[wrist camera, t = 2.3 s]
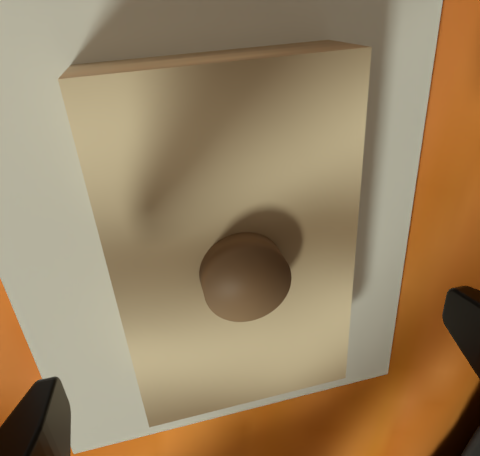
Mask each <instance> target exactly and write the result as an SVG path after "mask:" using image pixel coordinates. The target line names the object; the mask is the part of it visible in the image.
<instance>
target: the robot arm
mask: <svg viewBox="0 0 480 456" xmlns="http://www.w3.org/2000/svg"><path fill="white" fill-rule="evenodd" d="M442 317H443V322H444V324H445V326H446V328H447V329H448V331H449V332H450V334H451V335H452V337H453V339H454V340H455V342H456V343H457V345H458V346H459V348H460V350H461V351H462V353H463V354H464V356H465V357H466V359H467V360H468V362H469V364H470V365H471V367H472V368H473V370H474V371H475V373H476V374H477V376H478V377H479V379H480V290H477V289H474V288H472V287H469V286H460V287H455V288H451V289H449V291H448V292H447V295H446V300H445V304H444V309H443V314H442ZM70 444H71V408H70V403H69V400H68V398H67V395H66V393H65V390H64V387H63V385H62V382H61V380H60V379H59V377H56V376H54V377H50V378H45V379H41V380H38V381H36V382H35V383H34V384H33V386H32V387H31V388H30V389H29V391H28V392H27V393H26V395H25V396H24V397H23V398H22V400H21V401H20V402H19V404H18V405H17V406H16V407H15V409H14V410H13V411H12V413H11V414H10V415H9V416H8V418H7V419H6V420H5V422H4V423H3V424H2V425H1V427H0V456H70Z"/></svg>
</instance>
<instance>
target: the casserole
mask: <svg viewBox="0 0 480 456" xmlns="http://www.w3.org/2000/svg"><path fill="white" fill-rule="evenodd" d="M461 456H480V425H479V426H478V428H477V429H476V431H475V433H474V434H473V436H472V438H471V439H470V441H469V443H468V444H467V446H466V447H465V449H464V451H463V452H462V454H461Z"/></svg>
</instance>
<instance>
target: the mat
mask: <svg viewBox="0 0 480 456" xmlns="http://www.w3.org/2000/svg"><path fill="white" fill-rule="evenodd" d="M442 3H443V0H0V278H1V281H2V283H3V285H4V288H5V290H6V293H7V295H8V297H9V300H10V302H11V305H12V307H13V309H14V312H15V314H16V317H17V319H18V321H19V324H20V326H21V329H22V331H23V333H24V336H25V338H26V341H27V343H28V345H29V348H30V350H31V353H32V355H33V357H34V360H35V362H36V365H37V367H38V369H39V372H40V374H41V376H42V379H45V378H50V377H54V376H56V377H59V379H60V380H61V382H62V385H63V387H64V390H65V393H66V395H67V398H68V400H69V403H70V408H71V444H70V446H71V448H72V451H73V453H74V454H76V453H80V452H84V451H88V450H92V449H95V448H99V447H103V446H107V445H111V444H115V443H119V442H123V441H127V440H131V439H135V438H139V437H142V436H146V435H150V434H154V433H158V432H162V431H166V430H170V429H174V428H178V427H182V426H186V425H190V424H193V423H197V422H201V421H205V420H209V419H213V418H217V417H221V416H225V415H229V414H233V413H237V412H240V411H244V410H248V409H252V408H256V407H260V406H264V405H268V404H272V403H276V402H280V401H284V400H288V399H291V398H295V397H299V396H303V395H307V394H311V393H315V392H319V391H323V390H327V389H331V388H335V387H338V386H342V385H346V384H350V383H354V382H358V381H362V380H366V379H370V378H374V377H378V376H382V375H386V374H388V369H389V363H390V356H391V349H392V342H393V335H394V329H395V322H396V315H397V308H398V301H399V295H400V288H401V281H402V274H403V268H404V261H405V254H406V247H407V240H408V234H409V227H410V220H411V213H412V207H413V200H414V193H415V186H416V179H417V173H418V166H419V159H420V152H421V145H422V139H423V132H424V125H425V118H426V112H427V105H428V98H429V91H430V84H431V78H432V71H433V64H434V57H435V50H436V44H437V37H438V30H439V23H440V17H441V10H442ZM321 40H334V41H340V42H346V43H351V44H357V45H363V46H369V47H372V51H371V64H370V77H369V89H368V102H367V114H366V127H365V140H364V152H363V165H362V177H361V190H360V203H359V215H358V228H357V240H356V253H355V266H354V278H353V291H352V303H351V316H350V329H349V341H348V354H347V366H346V378H344V379H340V380H336V381H332V382H328V383H324V384H320V385H316V386H312V387H308V388H304V389H300V390H296V391H292V392H288V393H284V394H280V395H276V396H272V397H268V398H264V399H260V400H256V401H252V402H248V403H244V404H240V405H236V406H232V407H229V408H225V409H221V410H217V411H213V412H209V413H205V414H201V415H197V416H193V417H189V418H185V419H181V420H177V421H173V422H169V423H165V424H161V425H157V426H153V427H149V424H148V420H147V417H146V413H145V409H144V405H143V401H142V398H141V394H140V390H139V386H138V382H137V379H136V375H135V371H134V367H133V363H132V360H131V356H130V352H129V348H128V344H127V341H126V337H125V333H124V329H123V325H122V322H121V318H120V314H119V310H118V306H117V303H116V299H115V295H114V291H113V287H112V284H111V280H110V276H109V272H108V268H107V264H106V261H105V257H104V253H103V249H102V245H101V242H100V238H99V234H98V230H97V226H96V223H95V219H94V215H93V211H92V207H91V204H90V200H89V196H88V192H87V188H86V185H85V181H84V177H83V173H82V169H81V166H80V162H79V158H78V154H77V150H76V147H75V143H74V139H73V135H72V131H71V128H70V124H69V120H68V116H67V112H66V109H65V105H64V101H63V97H62V93H61V90H60V86H59V82H58V78H59V77H60V76H61V75H62V74H63V73H64V72H65V71H66V70H67V68H68V67H69V66H70V65H74V64H84V63H95V62H105V61H115V60H126V59H136V58H146V57H156V56H167V55H177V54H187V53H197V52H208V51H218V50H228V49H239V48H249V47H259V46H269V45H280V44H290V43H300V42H310V41H321Z"/></svg>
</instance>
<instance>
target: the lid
mask: <svg viewBox="0 0 480 456" xmlns="http://www.w3.org/2000/svg"><path fill="white" fill-rule="evenodd" d="M371 51H372V47H369V46H363V45H357V44H351V43H346V42H340V41H334V40H321V41H310V42H300V43H290V44H280V45H269V46H259V47H249V48H239V49H228V50H218V51H208V52H197V53H187V54H177V55H167V56H156V57H146V58H136V59H126V60H115V61H105V62H95V63H84V64H74V65H70V66H69V67H68V68H67V70H66V71H65V72H64V73H63V74H62V75H61V76H60V77H59V78H58V82H59V86H60V90H61V93H62V97H63V101H64V105H65V109H66V112H67V116H68V120H69V124H70V128H71V131H72V135H73V139H74V143H75V147H76V150H77V154H78V158H79V162H80V166H81V169H82V173H83V177H84V181H85V185H86V188H87V192H88V196H89V200H90V204H91V207H92V211H93V215H94V219H95V223H96V226H97V230H98V234H99V238H100V242H101V245H102V249H103V253H104V257H105V261H106V264H107V268H108V272H109V276H110V280H111V284H112V287H113V291H114V295H115V299H116V303H117V306H118V310H119V314H120V318H121V322H122V325H123V329H124V333H125V337H126V341H127V344H128V348H129V352H130V356H131V360H132V363H133V367H134V371H135V375H136V379H137V382H138V386H139V390H140V394H141V398H142V401H143V405H144V409H145V413H146V417H147V420H148V424H149V427H153V426H157V425H161V424H165V423H169V422H173V421H177V420H181V419H185V418H189V417H193V416H197V415H201V414H205V413H209V412H213V411H217V410H221V409H225V408H229V407H232V406H236V405H240V404H244V403H248V402H252V401H256V400H260V399H264V398H268V397H272V396H276V395H280V394H284V393H288V392H292V391H296V390H300V389H304V388H308V387H312V386H316V385H320V384H324V383H328V382H332V381H336V380H340V379H344V378H346V366H347V354H348V341H349V329H350V316H351V303H352V291H353V278H354V266H355V253H356V240H357V228H358V215H359V203H360V190H361V177H362V165H363V152H364V140H365V127H366V114H367V102H368V89H369V77H370V64H371Z"/></svg>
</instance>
